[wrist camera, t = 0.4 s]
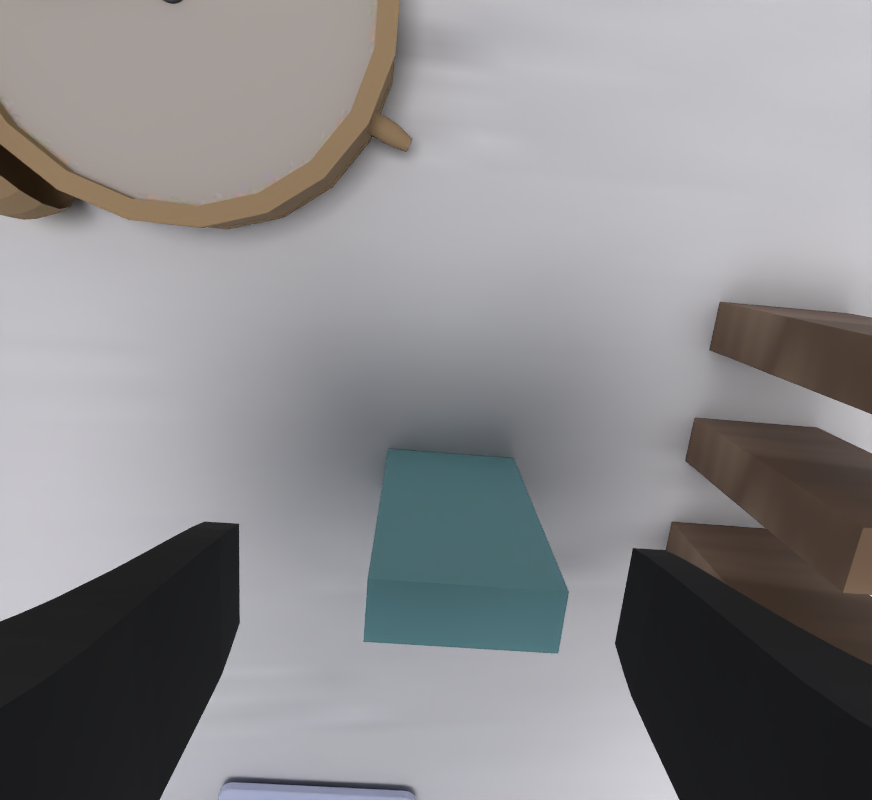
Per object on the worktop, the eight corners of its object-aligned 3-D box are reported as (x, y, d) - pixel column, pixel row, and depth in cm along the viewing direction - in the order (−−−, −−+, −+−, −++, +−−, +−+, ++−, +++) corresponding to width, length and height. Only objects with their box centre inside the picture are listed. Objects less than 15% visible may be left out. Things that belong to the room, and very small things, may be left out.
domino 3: (777, 568, 22) (971, 748, 14) (663, 560, 22) (795, 738, 14) (788, 530, 22) (992, 694, 14) (671, 521, 21) (813, 683, 14)
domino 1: (835, 360, 20) (1099, 440, 12) (709, 349, 20) (895, 423, 12) (848, 313, 19) (1130, 365, 12) (719, 301, 19) (920, 346, 11)
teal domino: (507, 499, 21) (558, 653, 13) (385, 490, 21) (363, 641, 13) (513, 458, 20) (568, 591, 13) (388, 448, 20) (367, 578, 13)
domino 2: (805, 470, 21) (1030, 605, 13) (685, 460, 21) (842, 592, 13) (817, 427, 20) (1057, 542, 13) (694, 417, 20) (863, 527, 13)
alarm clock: (426, 215, 16) (-236, 246, 13) (400, 222, 20) (-91, 245, 18) (398, -328, 13) (-476, -436, 10) (375, -175, 17) (-224, -220, 15)
